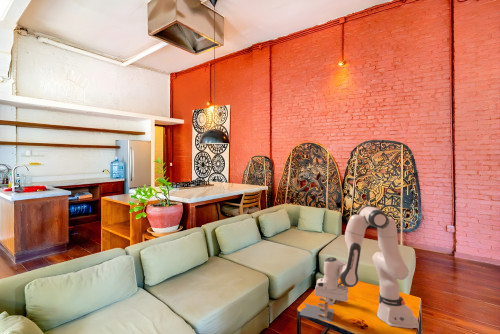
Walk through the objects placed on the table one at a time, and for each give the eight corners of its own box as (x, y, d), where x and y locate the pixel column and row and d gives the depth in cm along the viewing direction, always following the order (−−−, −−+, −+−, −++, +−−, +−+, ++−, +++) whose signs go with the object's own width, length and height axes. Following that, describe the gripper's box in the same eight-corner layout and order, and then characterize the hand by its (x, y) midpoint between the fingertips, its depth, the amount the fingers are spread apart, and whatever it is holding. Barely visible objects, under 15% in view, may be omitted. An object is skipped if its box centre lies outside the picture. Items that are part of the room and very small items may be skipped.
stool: (328, 311, 168) (328, 299, 168) (327, 318, 161) (326, 305, 160) (319, 309, 170) (319, 297, 170) (318, 316, 163) (318, 303, 163)
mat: (334, 310, 169) (334, 309, 169) (331, 322, 157) (331, 322, 157) (304, 303, 177) (304, 303, 177) (299, 315, 165) (299, 314, 165)
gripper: (348, 284, 162) (348, 305, 162) (315, 278, 170) (315, 298, 170) (348, 288, 156) (348, 310, 156) (314, 282, 164) (314, 303, 164)
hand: (331, 304), depth 163 cm, fingers closed
